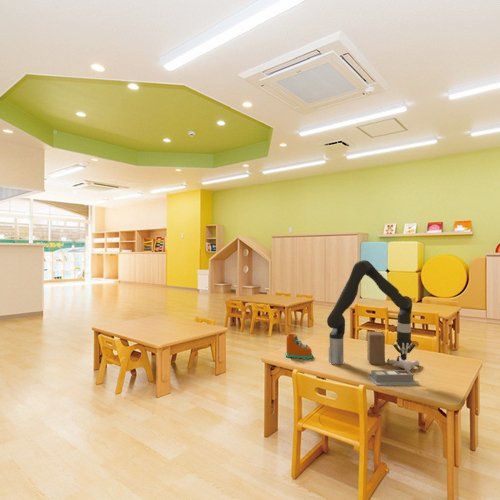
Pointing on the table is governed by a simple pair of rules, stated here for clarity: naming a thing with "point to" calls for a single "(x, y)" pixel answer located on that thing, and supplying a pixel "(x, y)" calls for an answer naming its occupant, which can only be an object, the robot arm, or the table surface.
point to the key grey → (391, 372)
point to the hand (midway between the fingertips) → (403, 359)
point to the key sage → (379, 372)
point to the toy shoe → (297, 348)
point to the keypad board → (392, 378)
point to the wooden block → (376, 348)
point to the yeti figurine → (403, 363)
